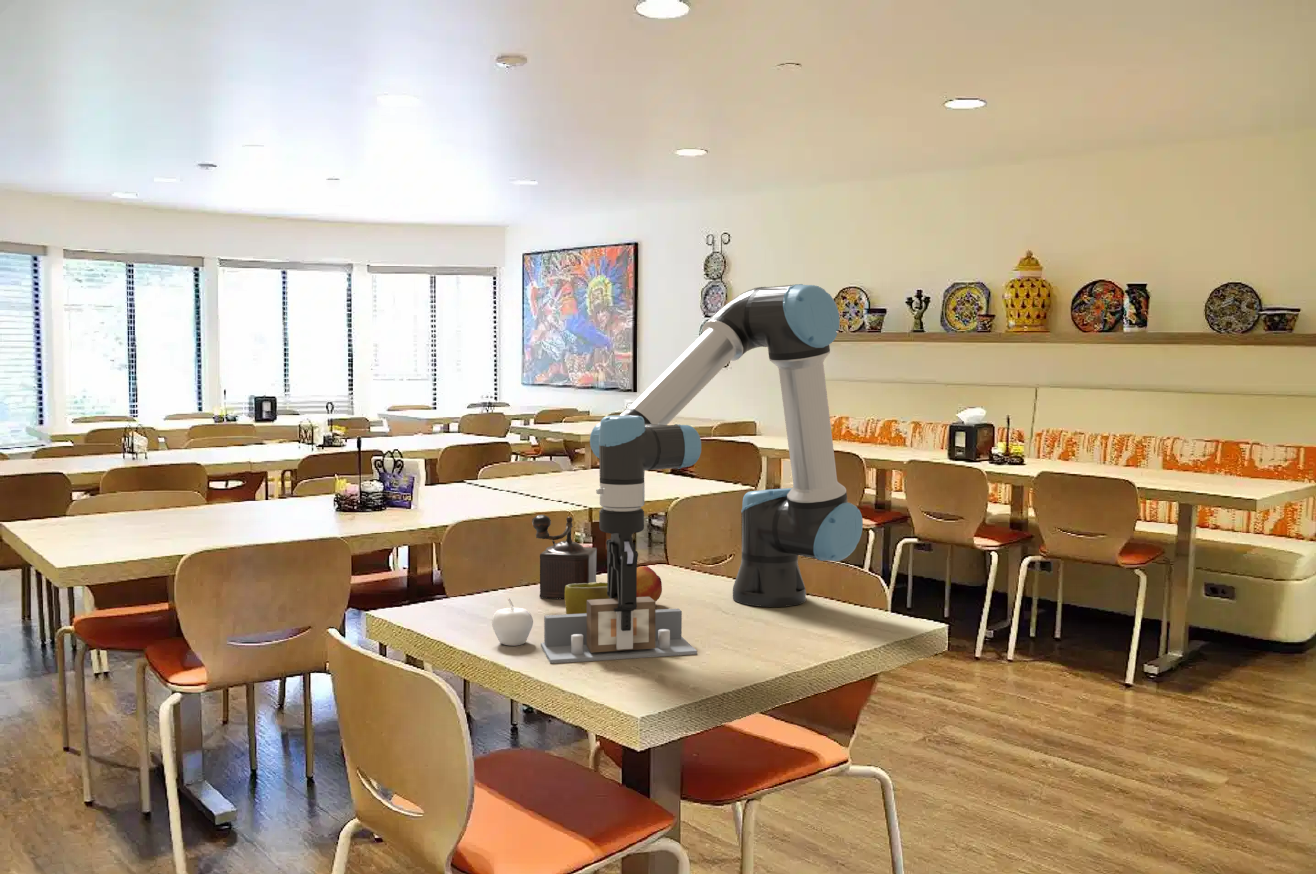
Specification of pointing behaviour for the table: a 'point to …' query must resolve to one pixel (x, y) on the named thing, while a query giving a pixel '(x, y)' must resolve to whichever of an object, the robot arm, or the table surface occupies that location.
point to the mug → (583, 596)
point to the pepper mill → (563, 561)
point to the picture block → (604, 624)
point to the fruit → (648, 583)
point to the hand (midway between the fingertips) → (621, 644)
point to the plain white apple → (512, 625)
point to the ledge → (570, 645)
